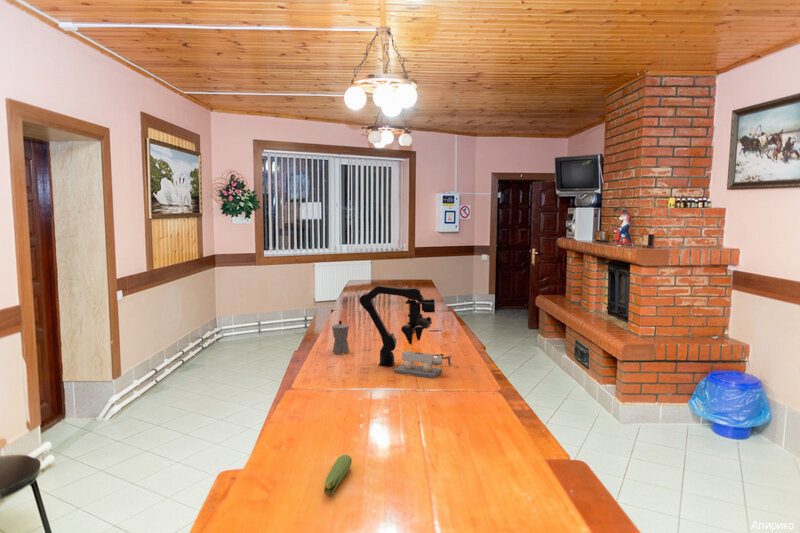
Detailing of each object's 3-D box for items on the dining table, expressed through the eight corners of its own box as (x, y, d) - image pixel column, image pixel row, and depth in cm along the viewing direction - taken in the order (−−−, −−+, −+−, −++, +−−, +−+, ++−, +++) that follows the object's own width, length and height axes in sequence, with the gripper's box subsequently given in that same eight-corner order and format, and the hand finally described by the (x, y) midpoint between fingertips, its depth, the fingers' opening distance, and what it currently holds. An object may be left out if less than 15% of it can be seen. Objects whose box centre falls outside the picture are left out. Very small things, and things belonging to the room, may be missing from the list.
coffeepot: (349, 355, 284) (349, 322, 282) (332, 355, 283) (331, 323, 281) (348, 347, 299) (348, 317, 297) (332, 348, 298) (331, 317, 296)
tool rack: (393, 372, 252) (393, 361, 252) (403, 366, 262) (403, 355, 262) (433, 378, 243) (433, 367, 242) (442, 371, 253) (442, 360, 252)
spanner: (401, 360, 253) (401, 352, 253) (405, 358, 258) (405, 349, 257) (439, 365, 244) (439, 357, 244) (443, 363, 249) (443, 354, 248)
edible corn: (356, 453, 160) (342, 448, 161) (333, 489, 141) (318, 482, 141) (352, 468, 161) (338, 462, 162) (329, 505, 142) (314, 499, 142)
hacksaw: (439, 355, 283) (439, 353, 282) (458, 356, 282) (458, 353, 281) (437, 369, 259) (437, 366, 259) (458, 369, 258) (458, 366, 258)
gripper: (420, 317, 250) (420, 348, 251) (436, 310, 266) (436, 340, 268) (400, 315, 255) (400, 345, 257) (417, 308, 271) (417, 337, 273)
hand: (414, 342), depth 263 cm, fingers open, 9 cm apart
